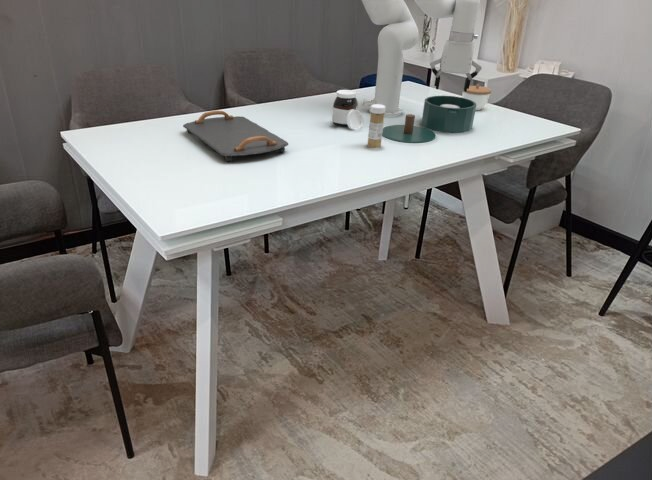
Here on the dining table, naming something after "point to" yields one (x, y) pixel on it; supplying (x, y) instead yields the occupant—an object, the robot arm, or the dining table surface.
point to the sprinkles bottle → (376, 125)
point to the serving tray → (234, 135)
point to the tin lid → (408, 132)
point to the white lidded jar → (477, 95)
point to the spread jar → (346, 110)
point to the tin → (448, 114)
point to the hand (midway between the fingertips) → (450, 89)
